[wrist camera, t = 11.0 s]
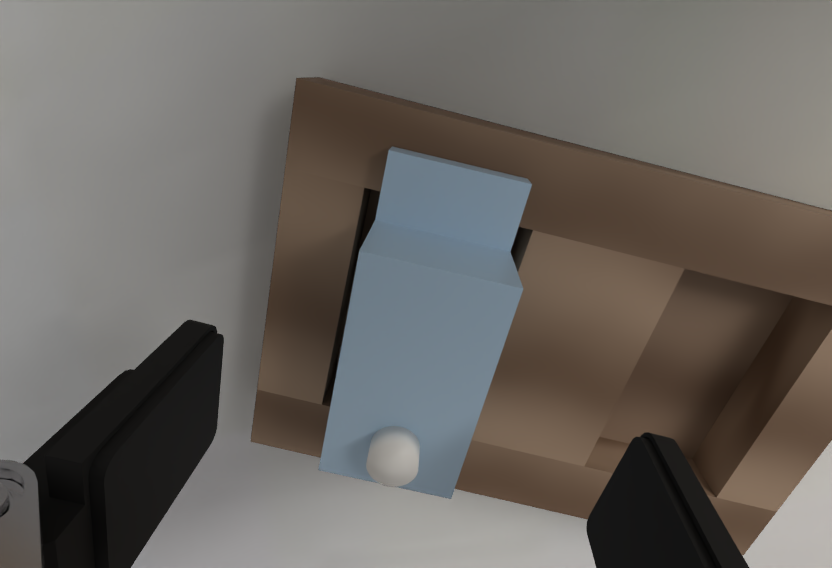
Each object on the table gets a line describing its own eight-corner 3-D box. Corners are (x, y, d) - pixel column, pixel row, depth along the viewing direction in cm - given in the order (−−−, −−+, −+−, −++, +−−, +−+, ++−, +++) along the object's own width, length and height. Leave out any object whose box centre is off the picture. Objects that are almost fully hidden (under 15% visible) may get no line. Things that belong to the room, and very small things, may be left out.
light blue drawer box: (399, 137, 16) (369, 173, 10) (518, 166, 16) (558, 218, 10) (344, 406, 20) (302, 540, 14) (438, 427, 20) (434, 568, 14)
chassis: (318, 77, 16) (295, 77, 13) (900, 228, 16) (977, 255, 14) (272, 401, 21) (249, 443, 18) (711, 504, 22) (744, 557, 19)
